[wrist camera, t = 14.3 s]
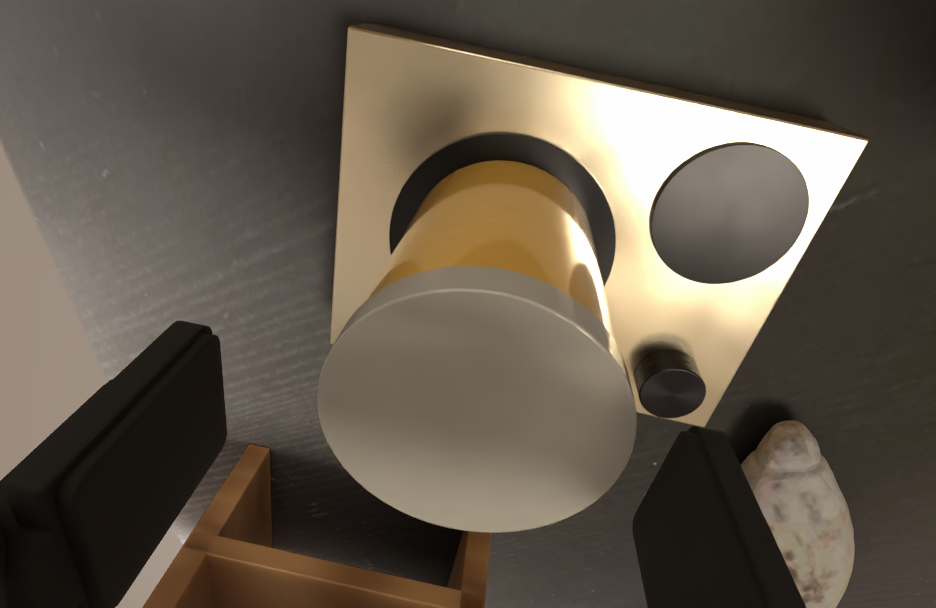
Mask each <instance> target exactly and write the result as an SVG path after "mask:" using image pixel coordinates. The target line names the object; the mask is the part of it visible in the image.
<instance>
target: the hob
mask: <svg viewBox="0 0 936 608" xmlns="http://www.w3.org/2000/svg"><path fill="white" fill-rule="evenodd" d="M868 143H869V139H868V138H867V137H865V136H862V135H860V134H858V133H855V132H853V131H851V130H848V129H846V128H844V127H841V126H839V125H836V124H834V123H832V122H828V121H824V120H819V119H814V118H810V117H805V116H800V115H796V114H791V113H787V112H782V111H777V110H773V109H768V108H763V107H759V106H754V105H750V104H745V103H740V102H736V101H731V100H727V99H722V98H717V97H713V96H708V95H703V94H699V93H694V92H690V91H685V90H680V89H676V88H671V87H666V86H662V85H657V84H653V83H648V82H643V81H639V80H634V79H629V78H625V77H620V76H616V75H611V74H606V73H602V72H597V71H593V70H588V69H583V68H579V67H574V66H569V65H565V64H560V63H556V62H551V61H546V60H542V59H537V58H532V57H528V56H523V55H519V54H514V53H509V52H505V51H500V50H495V49H491V48H486V47H482V46H477V45H472V44H468V43H463V42H458V41H454V40H449V39H445V38H440V37H435V36H431V35H426V34H422V33H417V32H412V31H408V30H403V29H398V28H394V27H389V26H385V25H380V24H375V23H367V24H360V25H353V26H349V27H348V29H347V47H346V65H345V83H344V100H343V118H342V136H341V154H340V172H339V190H338V208H337V225H336V243H335V261H334V279H333V297H332V315H331V333H330V344H331V345H333V344H334V343H335V341H336V339H337V338H338V336H339V334H340V333H341V331H342V329H343V328H344V326H345V324H346V323H347V322H348V320H349V319H350V318H351V316H352V315H353V314H354V312H355V311H356V310H357V309H358V308H359V307H360V306H361V305H362V304H363V303H364V301H365V300H366V298H367V296H368V294H369V293H370V291H371V289H372V288H373V286H374V284H375V282H376V281H377V279H378V277H379V276H380V274H381V272H382V270H383V269H384V267H385V265H386V264H387V262H388V260H389V258H390V257H391V255H392V253H393V252H394V250H395V248H396V246H397V245H398V243H399V241H400V239H401V238H402V236H403V234H404V233H405V231H406V229H407V227H408V226H409V224H410V222H411V221H412V219H413V217H414V215H415V214H416V212H417V210H418V209H419V207H420V205H421V203H422V202H423V200H424V199H425V197H426V196H427V195H428V193H429V192H430V191H431V190H432V189H433V188H434V187H435V186H436V185H437V184H438V183H439V182H440V181H441V180H443V179H444V178H445V177H447V176H448V175H450V174H452V173H453V172H455V171H457V170H459V169H461V168H464V167H466V166H469V165H472V164H476V163H480V162H485V161H494V160H502V161H514V162H521V163H525V164H528V165H531V166H535V167H537V168H539V169H541V170H544V171H546V172H547V173H549V174H551V175H552V176H554V177H556V178H557V179H558V180H560V181H561V182H562V183H563V184H565V185H566V186H567V187H568V188H569V189H570V190H571V192H572V193H573V194H574V195H575V196H576V198H577V199H578V200H579V202H580V203H581V205H582V207H583V209H584V211H585V213H586V215H587V217H588V220H589V223H590V226H591V230H592V235H593V239H594V244H595V248H596V253H597V258H598V262H599V267H600V271H601V276H602V280H603V285H604V289H605V294H606V298H607V303H608V307H609V312H610V317H611V321H612V326H613V330H614V335H615V339H616V344H617V346H618V348H619V350H620V351H621V353H622V356H623V359H624V362H625V365H626V367H627V370H628V375H629V379H630V383H631V387H632V392H633V396H634V401H635V407H636V413H641V414H645V415H650V416H654V417H659V418H663V419H668V420H672V421H677V422H681V423H686V424H690V425H695V426H699V427H705V426H706V424H707V422H708V421H709V419H710V417H711V415H712V414H713V412H714V410H715V408H716V407H717V405H718V403H719V402H720V400H721V398H722V396H723V395H724V393H725V391H726V389H727V388H728V386H729V384H730V382H731V381H732V379H733V377H734V375H735V374H736V372H737V370H738V369H739V367H740V365H741V363H742V362H743V360H744V358H745V356H746V355H747V353H748V351H749V349H750V348H751V346H752V344H753V342H754V341H755V339H756V337H757V336H758V334H759V332H760V330H761V329H762V327H763V325H764V323H765V322H766V320H767V318H768V316H769V315H770V313H771V311H772V310H773V308H774V306H775V304H776V303H777V301H778V299H779V297H780V296H781V294H782V292H783V290H784V289H785V287H786V285H787V283H788V282H789V280H790V278H791V277H792V275H793V273H794V271H795V270H796V268H797V266H798V264H799V263H800V261H801V259H802V257H803V256H804V254H805V252H806V250H807V249H808V247H809V245H810V244H811V242H812V240H813V238H814V237H815V235H816V233H817V231H818V230H819V228H820V226H821V224H822V223H823V221H824V219H825V217H826V216H827V214H828V212H829V211H830V209H831V207H832V205H833V204H834V202H835V200H836V198H837V197H838V195H839V193H840V191H841V190H842V188H843V186H844V184H845V183H846V181H847V179H848V178H849V176H850V174H851V172H852V171H853V169H854V167H855V165H856V164H857V162H858V160H859V158H860V157H861V155H862V153H863V152H864V150H865V148H866V146H867V145H868Z"/></svg>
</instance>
